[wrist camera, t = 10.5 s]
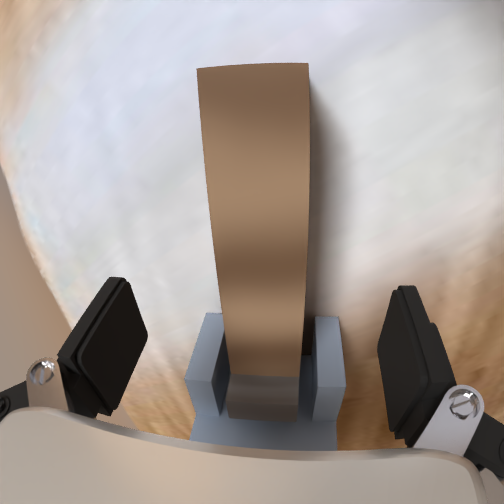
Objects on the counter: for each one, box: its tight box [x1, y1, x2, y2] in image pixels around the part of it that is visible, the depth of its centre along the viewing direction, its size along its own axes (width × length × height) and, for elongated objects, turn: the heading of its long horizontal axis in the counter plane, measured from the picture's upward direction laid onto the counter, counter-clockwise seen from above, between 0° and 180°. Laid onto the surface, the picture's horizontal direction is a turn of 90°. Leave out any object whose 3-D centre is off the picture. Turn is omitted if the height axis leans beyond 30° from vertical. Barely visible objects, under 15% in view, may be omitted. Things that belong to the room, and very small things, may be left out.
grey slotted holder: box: [184, 313, 346, 451], centre depth 19 cm, size 7×9×12 cm
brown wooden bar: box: [197, 63, 310, 422], centre depth 16 cm, size 18×4×7 cm, turn 3°
